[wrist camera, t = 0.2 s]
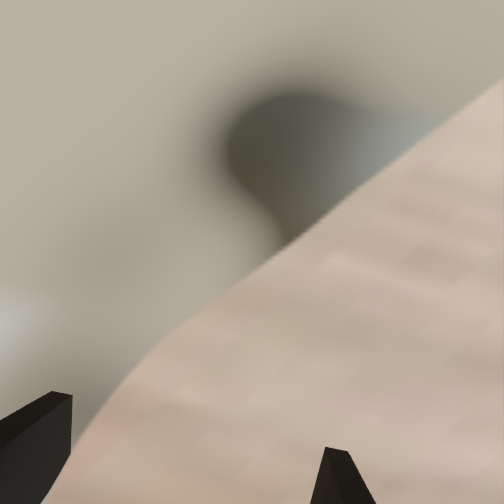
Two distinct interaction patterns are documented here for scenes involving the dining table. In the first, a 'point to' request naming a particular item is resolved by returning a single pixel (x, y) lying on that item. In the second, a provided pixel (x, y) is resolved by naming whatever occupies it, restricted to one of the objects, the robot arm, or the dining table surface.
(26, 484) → the robot arm
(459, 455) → the dining table surface
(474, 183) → the dining table surface
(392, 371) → the dining table surface
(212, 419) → the dining table surface
